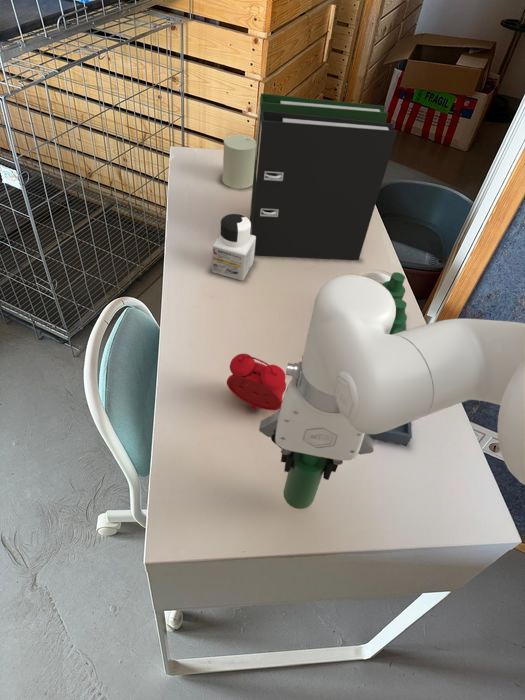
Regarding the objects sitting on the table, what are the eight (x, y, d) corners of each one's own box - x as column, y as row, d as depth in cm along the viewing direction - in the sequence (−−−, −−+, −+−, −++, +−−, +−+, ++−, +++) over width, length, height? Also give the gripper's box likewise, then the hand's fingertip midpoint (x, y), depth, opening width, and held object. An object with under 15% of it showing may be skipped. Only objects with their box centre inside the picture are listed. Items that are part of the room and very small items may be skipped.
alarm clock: (287, 404, 88) (299, 349, 77) (274, 430, 84) (285, 376, 73) (236, 383, 90) (241, 327, 79) (221, 407, 86) (224, 352, 75)
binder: (350, 229, 129) (384, 104, 105) (359, 264, 119) (398, 134, 95) (249, 222, 126) (260, 93, 103) (249, 257, 116) (262, 122, 93)
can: (259, 184, 140) (263, 143, 131) (233, 191, 136) (236, 150, 127) (241, 170, 145) (244, 130, 136) (215, 177, 141) (217, 136, 132)
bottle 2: (390, 362, 96) (412, 313, 86) (367, 358, 96) (387, 309, 87) (390, 346, 99) (411, 297, 89) (368, 342, 100) (387, 292, 90)
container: (211, 272, 111) (212, 224, 102) (223, 254, 116) (225, 206, 107) (242, 281, 110) (247, 233, 100) (253, 262, 115) (258, 215, 106)
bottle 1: (390, 335, 102) (410, 285, 92) (368, 331, 102) (386, 281, 92) (389, 320, 105) (409, 271, 95) (368, 316, 105) (386, 267, 95)
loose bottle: (312, 511, 69) (330, 463, 60) (281, 505, 70) (293, 456, 60) (315, 483, 73) (332, 433, 63) (285, 477, 73) (297, 426, 63)
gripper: (250, 392, 50) (240, 479, 63) (412, 422, 49) (368, 504, 62) (261, 342, 55) (250, 432, 68) (409, 369, 54) (369, 454, 67)
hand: (307, 465), depth 65 cm, fingers closed on loose bottle, 4 cm apart
